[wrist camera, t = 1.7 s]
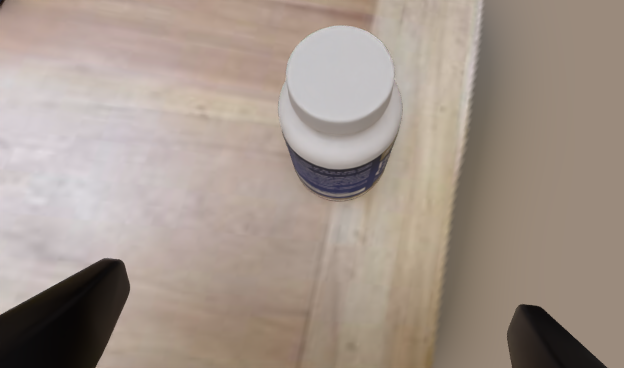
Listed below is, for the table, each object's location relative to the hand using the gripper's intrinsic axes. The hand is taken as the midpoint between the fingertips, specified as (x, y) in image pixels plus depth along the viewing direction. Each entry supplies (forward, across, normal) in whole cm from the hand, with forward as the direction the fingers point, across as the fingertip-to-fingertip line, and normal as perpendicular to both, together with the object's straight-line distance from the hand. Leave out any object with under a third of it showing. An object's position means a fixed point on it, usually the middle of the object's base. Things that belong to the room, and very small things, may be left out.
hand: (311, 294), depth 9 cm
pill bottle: (+15, 0, +4) cm, 16 cm away
